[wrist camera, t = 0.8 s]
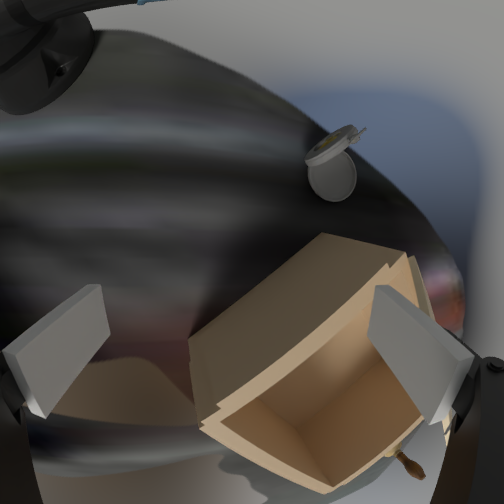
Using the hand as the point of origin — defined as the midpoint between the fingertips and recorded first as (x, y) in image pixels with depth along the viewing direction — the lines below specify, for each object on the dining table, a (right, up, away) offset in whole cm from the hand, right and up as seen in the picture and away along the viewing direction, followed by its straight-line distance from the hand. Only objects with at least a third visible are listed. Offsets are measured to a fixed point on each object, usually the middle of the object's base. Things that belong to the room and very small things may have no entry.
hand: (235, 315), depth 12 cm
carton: (+8, -10, +23) cm, 26 cm away
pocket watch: (+9, +13, +19) cm, 25 cm away
